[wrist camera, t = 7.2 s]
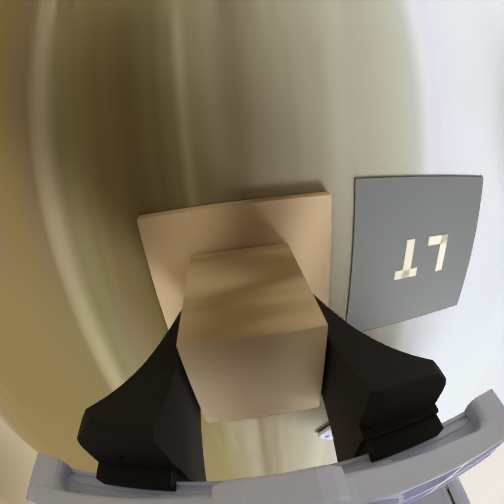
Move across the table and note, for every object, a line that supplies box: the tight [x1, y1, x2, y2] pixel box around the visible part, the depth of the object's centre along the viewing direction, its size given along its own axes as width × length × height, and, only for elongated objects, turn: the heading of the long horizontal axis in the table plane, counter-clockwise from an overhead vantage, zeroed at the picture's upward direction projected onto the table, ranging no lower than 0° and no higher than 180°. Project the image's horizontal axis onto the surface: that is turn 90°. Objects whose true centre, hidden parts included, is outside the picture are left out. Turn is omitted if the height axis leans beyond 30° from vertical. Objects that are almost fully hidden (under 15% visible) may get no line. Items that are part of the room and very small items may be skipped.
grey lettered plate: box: [346, 176, 483, 332], centre depth 16 cm, size 10×10×1 cm
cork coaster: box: [137, 192, 332, 330], centre depth 15 cm, size 9×9×1 cm
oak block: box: [176, 243, 328, 423], centre depth 12 cm, size 4×4×6 cm
